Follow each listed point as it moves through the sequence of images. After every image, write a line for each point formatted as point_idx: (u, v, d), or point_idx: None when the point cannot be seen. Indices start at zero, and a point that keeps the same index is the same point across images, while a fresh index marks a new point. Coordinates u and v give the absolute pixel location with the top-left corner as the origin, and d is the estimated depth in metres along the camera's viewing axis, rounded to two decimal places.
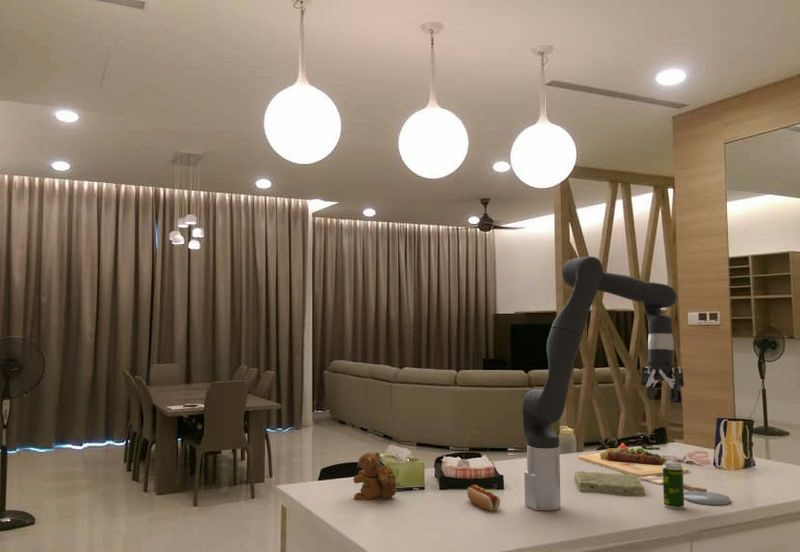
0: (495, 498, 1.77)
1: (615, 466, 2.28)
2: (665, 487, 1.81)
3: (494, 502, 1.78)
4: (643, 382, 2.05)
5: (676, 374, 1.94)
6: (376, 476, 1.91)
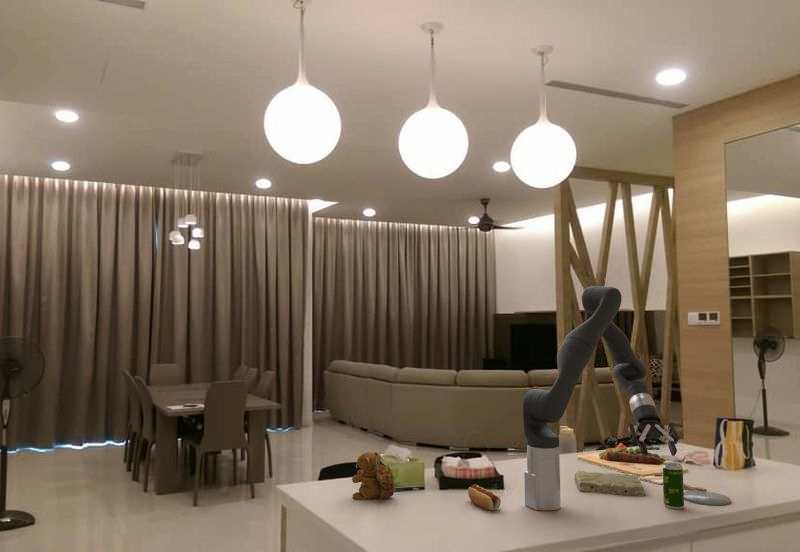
0: (495, 498, 1.77)
1: (615, 466, 2.28)
2: (665, 487, 1.81)
3: (495, 502, 1.78)
4: (635, 437, 1.94)
5: (673, 429, 1.96)
6: (374, 476, 1.91)
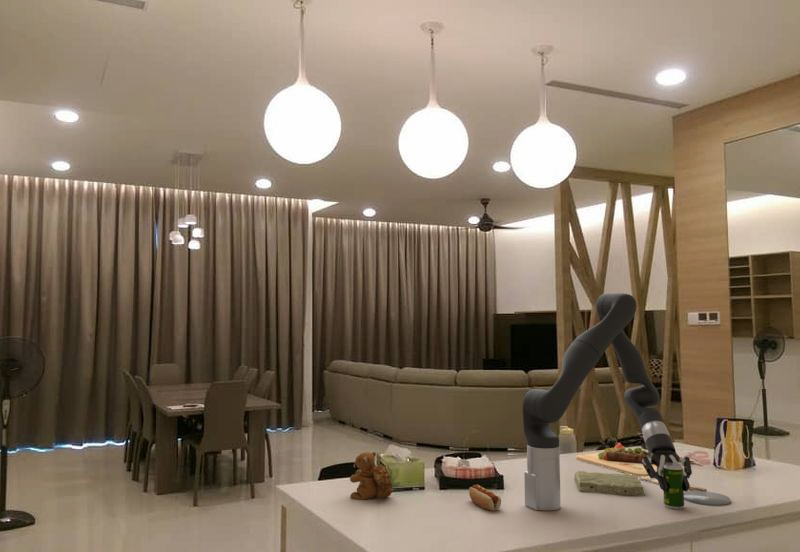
0: (496, 498, 1.77)
1: (615, 466, 2.28)
2: None
3: (495, 502, 1.78)
4: (654, 471, 1.83)
5: (688, 463, 1.85)
6: (372, 476, 1.91)
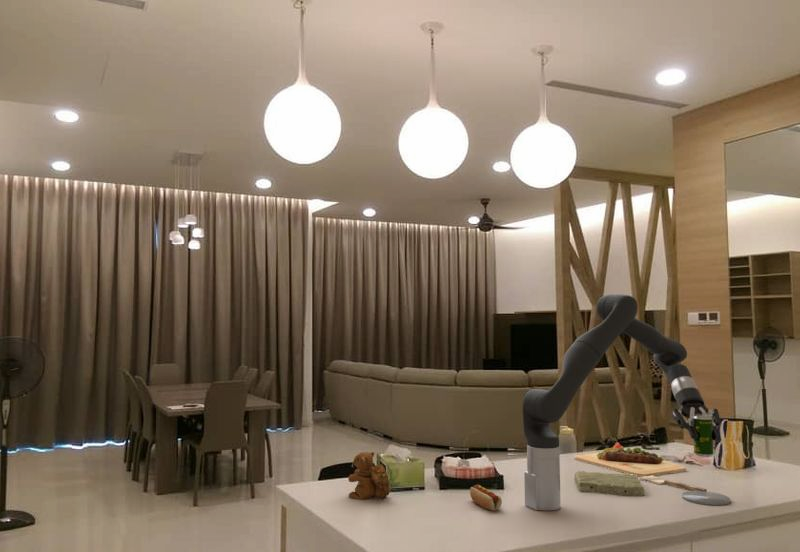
0: (496, 498, 1.77)
1: (614, 466, 2.28)
2: None
3: (496, 502, 1.78)
4: (684, 421, 1.93)
5: (717, 414, 1.95)
6: (370, 475, 1.92)
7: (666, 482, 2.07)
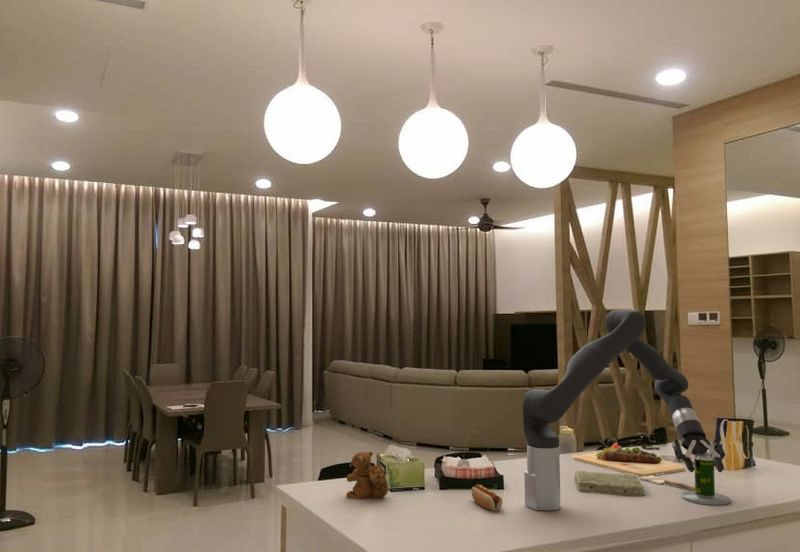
0: (497, 498, 1.77)
1: (614, 466, 2.28)
2: (697, 477, 1.90)
3: (496, 502, 1.78)
4: (681, 453, 1.92)
5: (719, 445, 1.94)
6: (368, 475, 1.92)
7: (666, 482, 2.07)
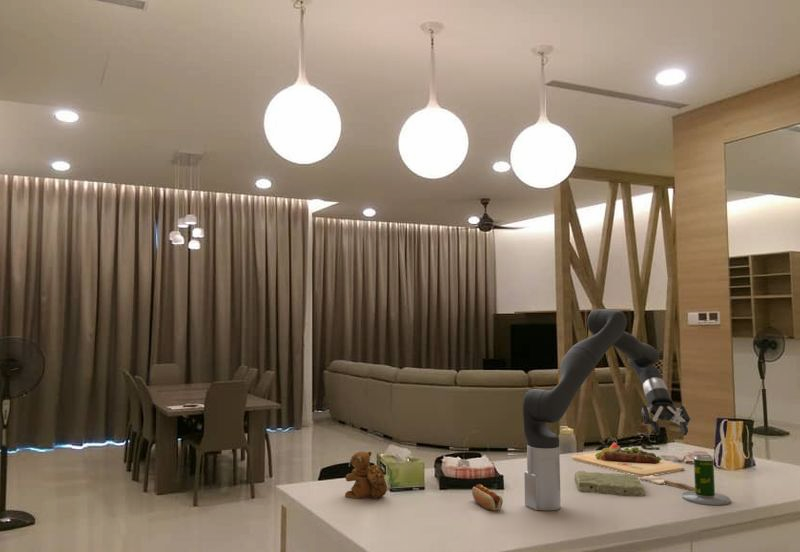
0: (497, 498, 1.77)
1: (614, 466, 2.28)
2: (696, 477, 1.90)
3: (497, 502, 1.78)
4: (648, 417, 2.06)
5: (685, 411, 2.08)
6: (367, 475, 1.92)
7: (666, 482, 2.07)
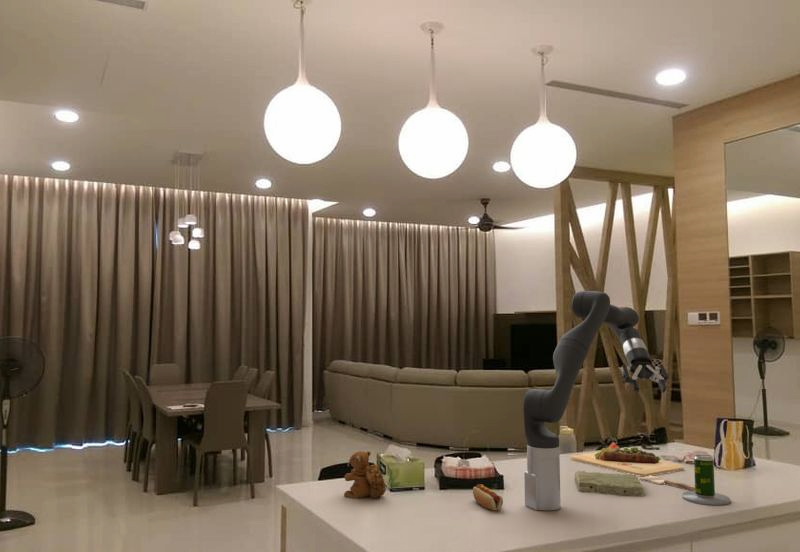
0: (498, 498, 1.77)
1: (614, 466, 2.28)
2: (697, 477, 1.90)
3: (497, 502, 1.78)
4: (628, 376, 2.09)
5: (663, 369, 2.12)
6: (365, 475, 1.92)
7: (666, 482, 2.07)
